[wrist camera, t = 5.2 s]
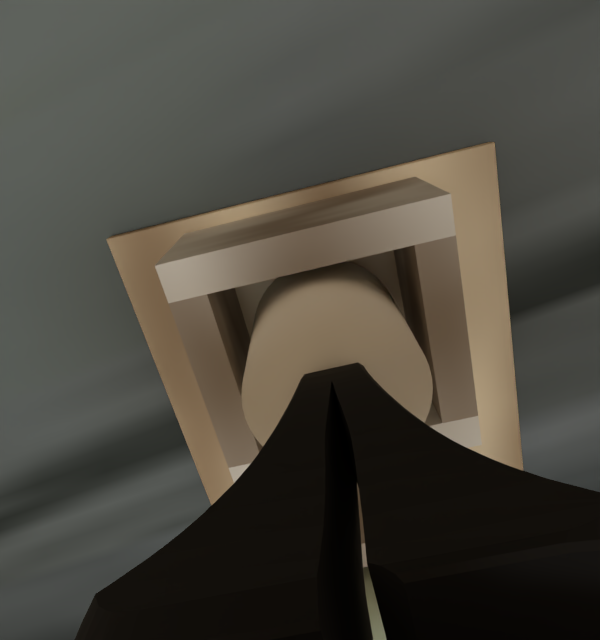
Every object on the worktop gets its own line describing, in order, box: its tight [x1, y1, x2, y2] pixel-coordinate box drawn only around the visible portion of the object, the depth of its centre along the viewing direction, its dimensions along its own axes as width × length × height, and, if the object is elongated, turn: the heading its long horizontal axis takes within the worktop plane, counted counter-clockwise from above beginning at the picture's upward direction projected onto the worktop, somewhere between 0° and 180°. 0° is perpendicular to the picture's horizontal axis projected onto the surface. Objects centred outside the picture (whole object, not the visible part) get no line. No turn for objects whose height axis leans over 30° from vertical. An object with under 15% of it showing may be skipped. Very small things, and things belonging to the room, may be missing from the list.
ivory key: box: [241, 261, 433, 446], centre depth 13 cm, size 4×4×4 cm
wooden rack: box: [106, 142, 523, 567], centre depth 19 cm, size 12×28×4 cm, turn 14°
